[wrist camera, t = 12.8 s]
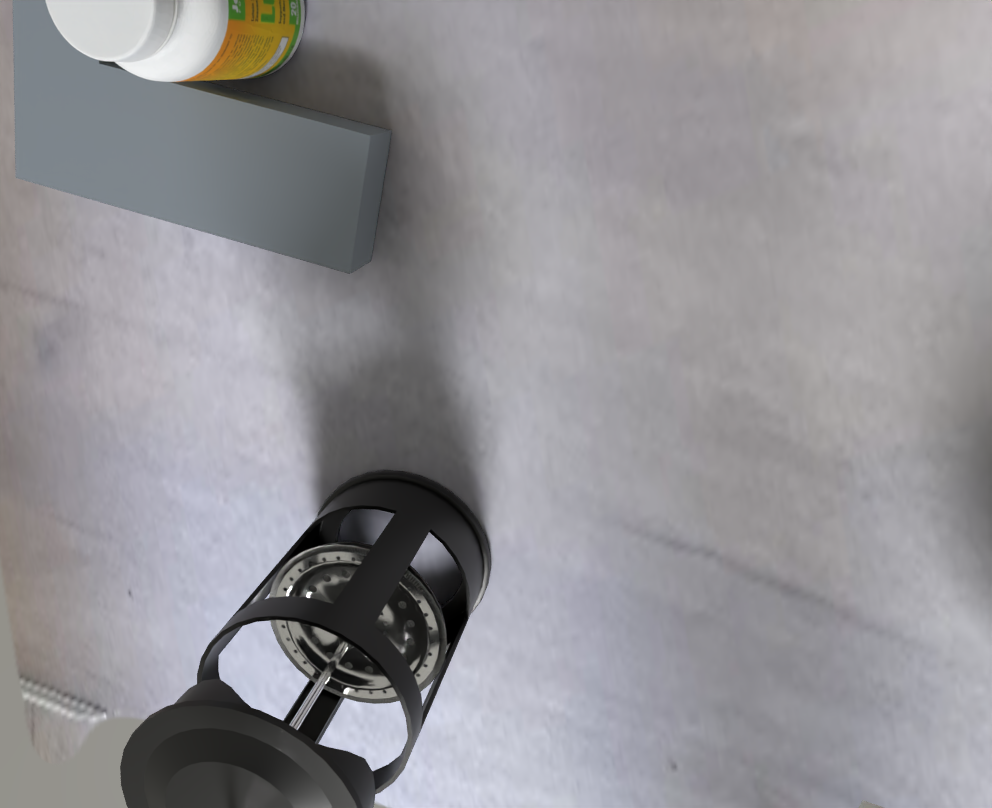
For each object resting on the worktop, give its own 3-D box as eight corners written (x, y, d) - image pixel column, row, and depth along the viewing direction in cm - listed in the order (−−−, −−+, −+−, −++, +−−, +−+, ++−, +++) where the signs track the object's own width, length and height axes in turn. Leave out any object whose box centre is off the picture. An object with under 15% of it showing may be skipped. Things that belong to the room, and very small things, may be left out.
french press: (357, 426, 42) (10, 790, 21) (528, 517, 42) (346, 977, 21) (283, 596, 47) (-56, 1026, 26) (435, 679, 47) (214, 1180, 26)
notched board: (447, -214, 31) (426, -235, 29) (371, 261, 38) (349, 273, 36) (55, -296, 33) (7, -321, 31) (54, 170, 40) (15, 177, 38)
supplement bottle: (333, 28, 35) (207, 18, 26) (241, 103, 37) (96, 118, 28) (255, -95, 34) (97, -147, 25) (165, -10, 36) (-10, -31, 27)
